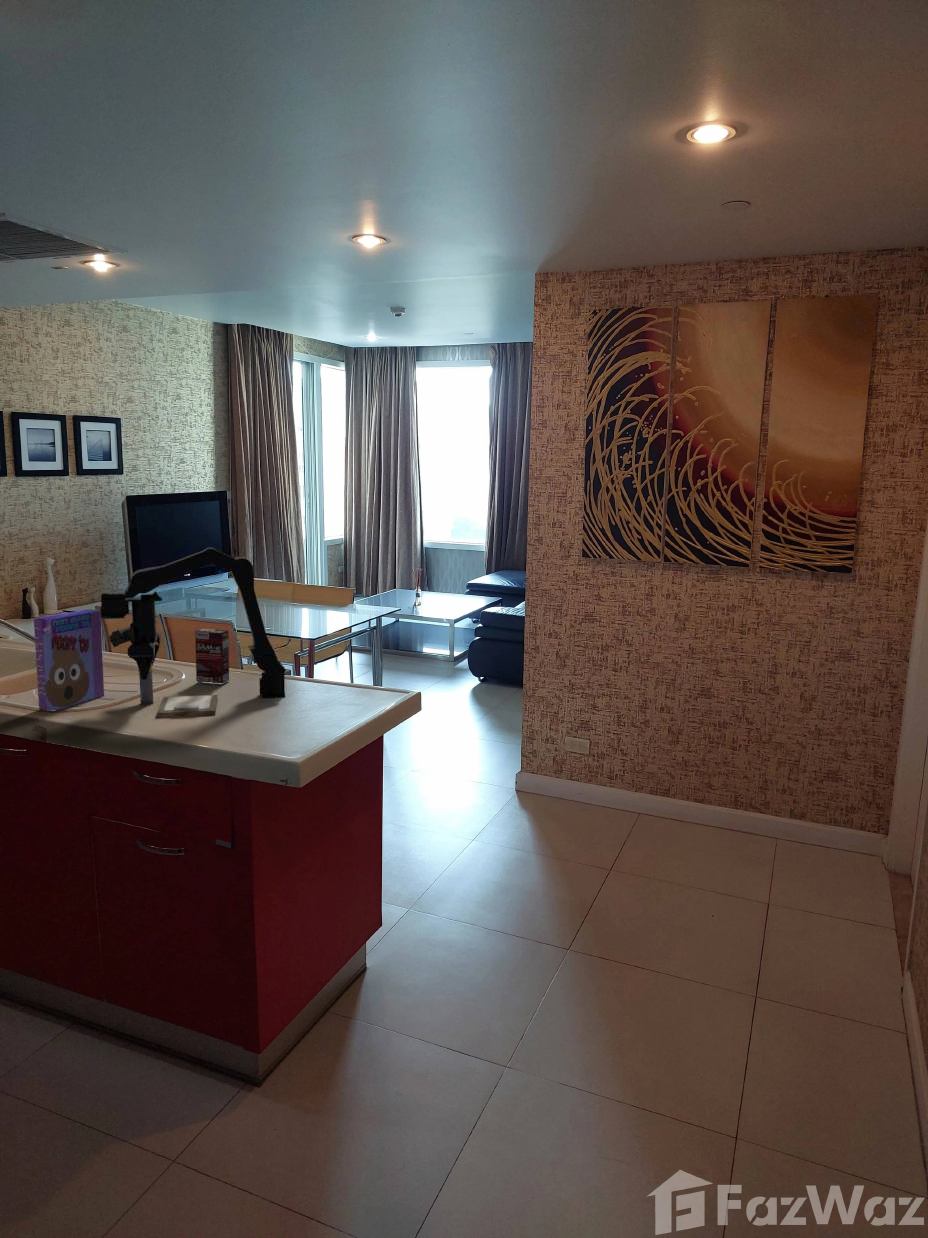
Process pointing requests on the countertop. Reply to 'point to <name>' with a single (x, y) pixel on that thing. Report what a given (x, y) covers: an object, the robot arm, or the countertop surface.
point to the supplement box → (212, 655)
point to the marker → (146, 689)
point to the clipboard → (187, 706)
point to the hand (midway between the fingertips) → (146, 675)
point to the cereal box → (69, 659)
